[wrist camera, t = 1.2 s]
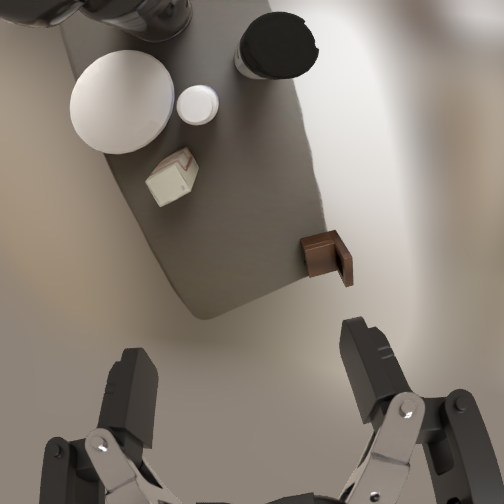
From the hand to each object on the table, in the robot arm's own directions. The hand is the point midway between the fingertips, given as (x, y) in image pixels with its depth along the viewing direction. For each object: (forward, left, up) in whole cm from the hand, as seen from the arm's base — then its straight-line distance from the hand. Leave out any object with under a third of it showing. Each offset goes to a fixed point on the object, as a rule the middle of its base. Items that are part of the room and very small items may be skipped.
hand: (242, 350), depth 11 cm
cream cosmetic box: (-3, -8, -38) cm, 39 cm away
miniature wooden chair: (+27, -3, -38) cm, 47 cm away
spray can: (-6, +12, -38) cm, 41 cm away
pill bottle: (-7, +2, -38) cm, 39 cm away
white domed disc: (-16, -5, -31) cm, 35 cm away
